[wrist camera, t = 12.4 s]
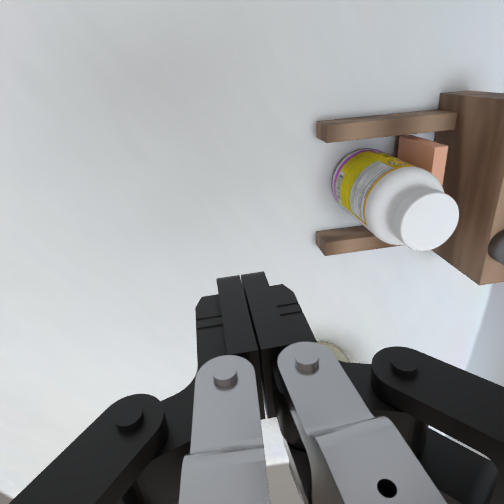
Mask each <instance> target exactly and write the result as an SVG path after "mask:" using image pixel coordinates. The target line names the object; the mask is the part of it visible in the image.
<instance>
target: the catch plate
mask: <svg viewBox="0 0 504 504" xmlns="http://www.w3.org/2000/svg"><path fill="white" fill-rule="evenodd" d="M447 152H448V146H446V145H443V144H440V143H436V142H433V141H430V140H426V139H423V138H419V137H416V136H413V135H406V136H400V137H399V147H398V159H400V160H403V161H405V162H407V163H410V164H412V165H414V166H417V167H419V168H422V169H424V170H426V171H428V172H430V173H432V174H433V175H434V176H435V177H436V178H437V179H438V180H439V182H440V183H441V185H443V178H444V172H445V165H446V159H447Z"/></svg>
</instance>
